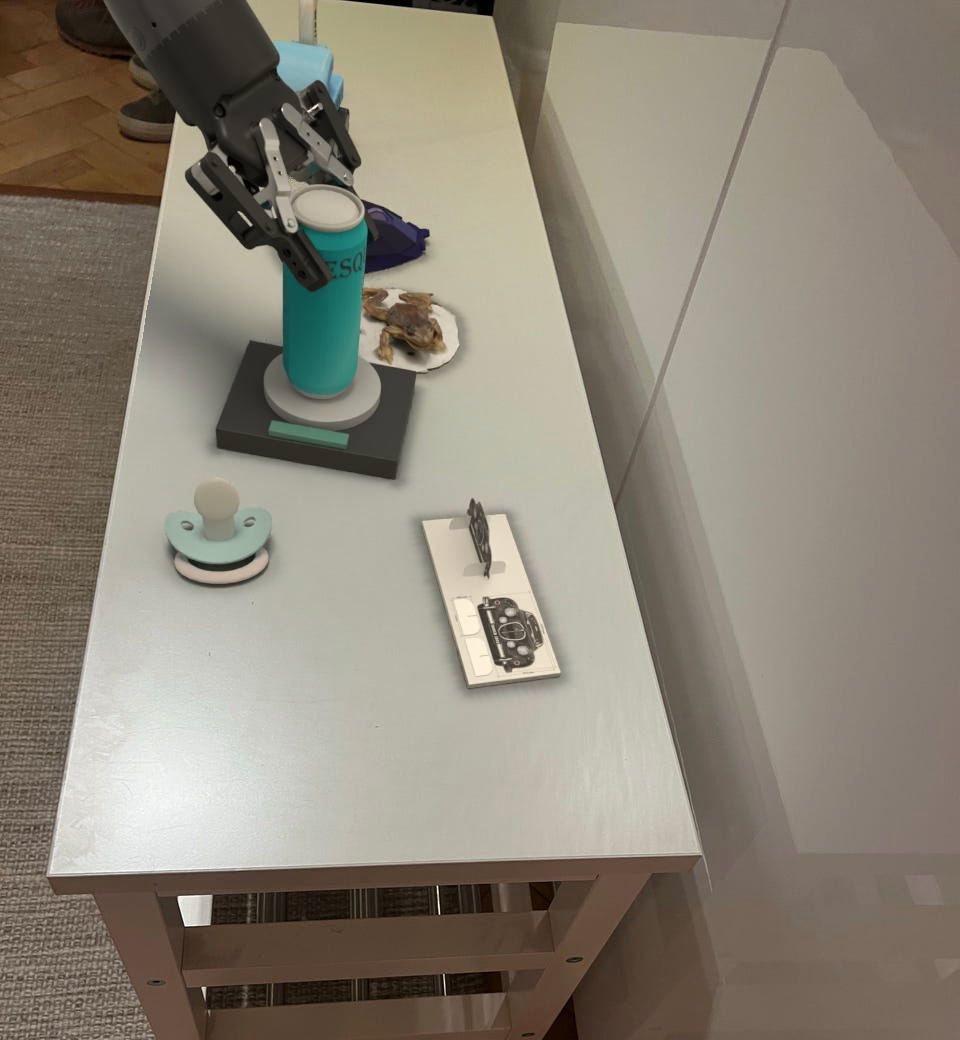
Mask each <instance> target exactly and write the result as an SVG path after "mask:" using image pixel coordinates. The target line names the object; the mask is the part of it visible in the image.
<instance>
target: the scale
mask: <svg viewBox="0 0 960 1040" xmlns="http://www.w3.org/2000/svg"><path fill="white" fill-rule="evenodd" d="M417 374H418V373H417V372H416V371H413V370H407V369H402V368H397V367H391V366H386V365H381V364H375V363H370V362H367V361H366V360H365V359H363V358H362V357H360V356H359V355H358V363H357V371H356V373H355V376H354V377H353V379H352V381H351V383H350V384H349V386H348V388H347V389H346V390H345V391H344V392H343V393H342V394H341V395H339V396H337V397H335V398H332V399H326V400H318V399H312V398H309V397H306V396H304V395H302V394H301V393H299V392H298V391H297V390H296V389H294V387H293V386H292V384H291V382H290V380H289V378H288V376H287V374H286V372H285V369H284V366H283V345H278V344H274V343H268V342H262V341H256V340H252V339H251V340H248V342H247V346H246V348H245V351H244V353H243V355H242V357H241V361H240V363H239V366H238V369H237V371H236V374H235V377H234V380H233V382H232V384H231V387H230V390H229V392H228V395H227V397H226V401H225V403H224V405H223V408H222V410H221V413H220V416H219V418H218V421H217V424H216V426H215V437H216V438H215V440H216V448H218V449H223V450H224V449H225V450H229V451H233V452H234V451H235V452H238V453H239V452H240V453H244V454H250V455H257V456H262V457H268V458H274V459H280V460H285V461H291V462H295V463H302V464H307V465H312V466H318V467H324V468H330V469H336V470H341V471H347V472H352V473H356V474H363V475H368V476H373V477H380V478H385V479H390V480H396V479H397V475H398V470H399V469H398V468H399V465H400V460H401V456H402V450H403V445H404V440H405V436H406V433H407V432H406V431H407V427H408V423H409V418H410V417H409V416H410V412H411V407H412V404H413V398H414V394H415V390H416V389H415V388H416V380H417Z"/></svg>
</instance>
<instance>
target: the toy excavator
mask: <svg viewBox="0 0 960 1040" xmlns="http://www.w3.org/2000/svg"><path fill="white" fill-rule="evenodd" d="M318 3H319V0H298V41H297V40H291V41H287V40H275V41H274V42H272V43H273V44H274V46H275V47H276V49H277V51H278V52H279V55H280V62H279V65H278V66H277V73H278V75H279V76H280V78H281V79H282V80H283V81H284V82H285V83H286V84H287V85H288V86H289V87H290V88H291V89H293V91H294V92H297V91H300V90H303V89H304V88H306V87H307V86H308V85H310V84H312V83H313V82H314V81H316V80H320V81H321V82H323V83H324V85H325V86H326V88H327V90H328V92H329V94H330V96H331V98H332V100H333V102H334V104H335V106H336V109H337V111H338V113H339V115H340V117H341V119H342V121H343V123H344V125H345V127H346V129H347V131H348V133H350V131H349V130H350V114H351V113H350V109H349V108H347V107H342V106H341V104H342V101H343V99H344V85H345V84H344V81H345V80H344V77H343V76H342V75H341V74H339V73H333V71H334V64H335V63H334V61H335V60H334V53H333V52H332V50H330V49H329V47H328V46H327V45H324V44H320V43H319V44H318ZM330 145H331V147H332V149H333V151H334V153H335V155H336V157H337V158H338V152H339V149H338V147H337V145H336V143H335V141H334V139H332V140H331V141H330ZM310 153H311V152H310V151H309V150H308V154H310ZM319 172H320V173H322V174H323V175H324V176H325V177H326V174H327V173H326V172H325V171H323V170H319Z"/></svg>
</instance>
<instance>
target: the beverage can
mask: <svg viewBox="0 0 960 1040" xmlns="http://www.w3.org/2000/svg"><path fill="white" fill-rule="evenodd" d="M359 198H360V197H359ZM359 198H358V197H357V196H356V195H354V194H353V193H351V192H349V191H347V190H345V189H343V188H340V187H336V186H331V185H323V184H315V185H308V184H307V185H303V186H301V187H298V188H297V189H294V190H293V191H291V194H290V202H291V205H292V208H293V211H294V214H295V217H296V220H297V223H298V230H297V232H298V231H299V230H301V229H303V230H304V231H305V233H306V234H307V236H308V237H309V239H310V240H311V242H312V243H313V245H314V246H315V248H316V249H317V251H318V252H319V254H320V255H321V257H322V259H323V260H324V262H325V263H326V265H327V266H328V268H329V269H330V271H331V272H332V274H333V279H332V280H331V281H330V282H329V283H328V284H327V285H326V286H324V287H322V288H320V289H318V290H317V291H315V292H310V291H308V290H307V289H306V288H304V287H303V286H302V285H300V284H299V283H298V282H297V280H296V279H295V277H294V275H293V274H292V273H291V271H290V269H289V268H288V267H287V265H286V264H285V263H284V261H283V263H282V346H283V366H284V369H285V372H286V374H287V376H288V378H289V380H290V382H291V384H292V386H293V387H294V389H296V390H297V391H298V392H299V393H301V394H302V395H304V396H306V397H309V398H312V399H318V400H326V399H332V398H335V397H337V396H339V395H341V394H342V393H343V392H344V391H345V390H346V389H347V388H348V386H349V384H350V383H351V381H352V379H353V377H354V376H355V373H356V371H357V363H358V350H359V337H360V324H361V311H362V297H363V288H364V284H365V274H364V271H365V258H366V245H367V232H368V230H367V225H366V223H365V220H364V213H365V210H364V205H363V203H362V202H361V200H360V199H361V198H360V199H359Z"/></svg>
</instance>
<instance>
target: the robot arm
mask: <svg viewBox="0 0 960 1040" xmlns="http://www.w3.org/2000/svg"><path fill="white" fill-rule="evenodd" d="M102 1H103V2H104V5H105V7H106V8H107V10H108V13H109V14H110V16H111V18H112V20H113V21H114V22H115V24H116V26H117V27H118V29H119V31H120V32H121V33H122V35H123V36H124V38H125V39H126V41H127V42H128V44H129V45H130V47H132V49H133V51H134V52H135V53H136V55H137V56H138V58H139V59H140V61H141V62H142V64H143V65H144V67H145V68H146V69H147V71H148V73H149V74H150V75H151V77H152V78H153V80H154V81H155V82H156V84H157V85H158V87H159V89H160V90H161V91H162V93H163V95H164V96H165V97H166V99H167V100H168V101H169V103H170V104H171V106H172V108H173V109H174V110H175V112H176V113H177V115H178V116H179V118H180V119H181V121H182V122H183V123H184V124H185V125H186V126H188V127H193V128H194V127H197V128H198V130H199V131H200V132H201V134H202V137H203V139H204V141H205V145H206V149H207V152H206V153H205V154H204V155H203V156H202V157H201V158H200V159H198V160H197V161H196V162H195V163H193V164H192V165H191V166H190V167H188V168H187V169H186V170H185V172H184V179H185V181H186V183H187V184H188V185H189V186H190V187H191V189H192V190H193V191H194V193H196V194H197V195H198V197H199V198H200V199H201V201H202V202H204V203H205V204H206V206H207V207H208V208H209V209H210V210H211V211H212V213H213V214H214V215H215V216H216V217H217V218H218V219H219V221H220V222H221V223H222V224H223V225H224V226H225V227H226V228H227V230H228V231H229V232H230V233H231V234H232V235H233V236H234V238H236V240H237V241H238V242H239V244H241V246H243V248H245V249H246V250H248V251H251V250H254V249H256V248H259V247H265V246H268V247H271V248H273V249H274V250H275V251H276V252H277V255H278V254H279V255H280V257H281V258H282V260H283V261H284V263H285V264H286V265H287V267H288V268H289V269H290V271H291V273H292V274H293V275H294V277H295V279H296V280H297V282H298V283H299V284H300V285H302V286H303V287H304V288H306V289H307V290H308V291H310V292H315V291H317V290H318V289H320V288H322V287H324V286H326V285H327V284H328V283H329V282H330V281H331V280H332V279H333V274H332V272H331V271H330V269H329V268H328V266H327V265H326V263H325V262H324V260H323V259H322V257H321V255H320V254H319V252H318V251H317V249H316V248H315V246H314V245H313V243H312V242H311V240H310V239H309V237H308V236H307V234H306V233H305V231H304V230H303V229H301V230H299V231H298V232H297V230H298V223H297V220H296V217H295V214H294V211H293V208H292V205H291V202H290V194H291V193H292V185H291V182H290V181H291V180H290V178H289V176H290V177H291V178H292V179H293V180H295V181H296V182H299V183H304V184H305V183H306V184H307V186H308V185H315V184H323V185H331V186H336V187H340V188H343V189H345V190H347V191H349V192H351V193H353V194H354V195H356V196H357V197H358V198H359V199H360V200H361V199H362V198H360V196H359V195H358V193H357V192H356V189H355V188H354V186H353V185H354V181H355V179H354V173H355V171H356V169H358V168H359V167H361V166H362V159H361V156H360V153H359V152H358V149H357V148H356V145H355V143H354V142H353V140H352V137H351V135H350V132H348V131H347V129H346V127H345V125H344V123H343V121H342V119H341V117H340V115H339V113H338V111H337V109H336V106H335V104H334V102H333V100H332V98H331V96H330V94H329V92H328V90H327V88H326V86H325V85H324V83H323V82H321V81H320V80H316V81H314V82H313V83H312V84H310V85H308V86H307V87H306V88H304V89H303V90H300V91H297V92H294V91H293V89H291V88H290V87H289V86H288V85H287V84H286V83H285V82H284V81H283V80H282V79H281V78H280V76H279V75H278V73H277V66H278V65H279V62H280V55H279V52H278V51H277V49H276V47H275V46H274V44H273V43H274V42H273V41H272V39H271V38H270V36H269V34H268V33H267V31H266V29H265V28H264V27H263V25H262V23H261V22H260V20H259V18H258V17H257V15H256V13H255V12H254V10H253V8H252V7H251V5H250V4H249V2H248V1H247V0H102ZM332 139H334V141H335V143H336V145H337V147H338V149H339V150H338V152H340V156H339V157H338V156H337V157H336V155H335V153H334V151H333V149H332V147H331V145H330V141H331V140H332ZM308 150H309V151H310V152H311V153H310V154H308ZM319 170H323V171H325V172H326V173H327V174H326V176H324V175H323V174H322V173H320V172H319ZM260 188H263V189H260ZM361 202H362V201H361ZM363 205H364V204H363ZM272 208H273V209H272ZM364 210H365V213H364V220H365V223H366V225H367V230H368V232H367V245H366V246H368V245H370V244H372V243H373V242H374V241H375V240H376V239H377V238H378V236H379V233H378V230H377V229H376V226H375V223H374V220H373V219H372V217H371V215H370V214H369V213H368V211H367V209H366V208H365V206H364ZM239 212H240V213H241V214H243V216H242V215H241V214H240V213H239ZM273 212H274V213H273ZM274 214H275V215H274ZM274 216H275V217H274ZM243 217H245V218H246V219H247V220H246V219H245V218H243ZM248 221H249V223H250V224H251V225H250V224H249V223H248ZM279 255H278V256H279ZM280 257H279V258H280Z"/></svg>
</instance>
